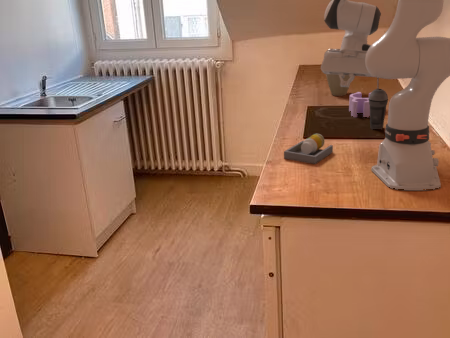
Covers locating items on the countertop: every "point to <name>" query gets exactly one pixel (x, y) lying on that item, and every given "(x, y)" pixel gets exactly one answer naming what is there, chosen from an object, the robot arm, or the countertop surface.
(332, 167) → the countertop surface
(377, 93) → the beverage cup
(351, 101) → the clip
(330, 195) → the countertop surface
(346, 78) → the plant pot
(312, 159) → the tray
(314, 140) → the supplement bottle
